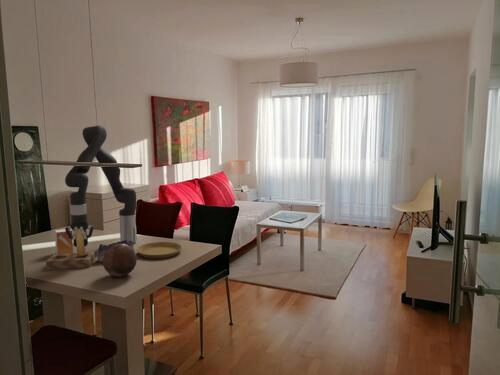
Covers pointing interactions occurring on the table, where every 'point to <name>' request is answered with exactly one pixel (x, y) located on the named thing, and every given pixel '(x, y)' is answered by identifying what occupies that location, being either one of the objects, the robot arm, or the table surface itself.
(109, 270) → the wooden sphere
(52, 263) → the hole block
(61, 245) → the small box
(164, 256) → the plant saucer
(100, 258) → the geode
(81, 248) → the peg
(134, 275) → the table surface
